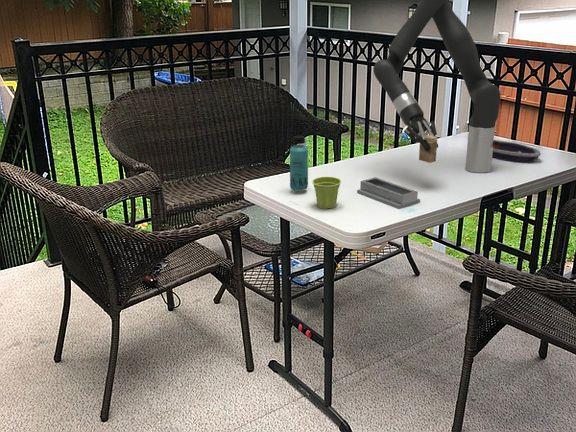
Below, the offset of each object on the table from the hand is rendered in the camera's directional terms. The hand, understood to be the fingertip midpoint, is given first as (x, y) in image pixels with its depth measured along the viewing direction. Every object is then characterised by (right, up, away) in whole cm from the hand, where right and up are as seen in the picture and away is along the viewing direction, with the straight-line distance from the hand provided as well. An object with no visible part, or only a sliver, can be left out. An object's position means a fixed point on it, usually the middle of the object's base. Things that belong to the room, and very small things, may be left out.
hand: (432, 149), depth 204 cm
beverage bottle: (-46, -15, +6) cm, 48 cm away
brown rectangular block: (-1, -4, +3) cm, 5 cm away
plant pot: (-37, -20, -7) cm, 43 cm away
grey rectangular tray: (-16, -17, -1) cm, 23 cm away
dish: (+40, +2, +44) cm, 59 cm away
